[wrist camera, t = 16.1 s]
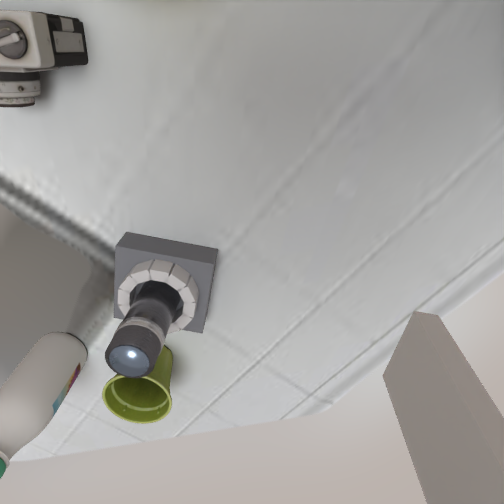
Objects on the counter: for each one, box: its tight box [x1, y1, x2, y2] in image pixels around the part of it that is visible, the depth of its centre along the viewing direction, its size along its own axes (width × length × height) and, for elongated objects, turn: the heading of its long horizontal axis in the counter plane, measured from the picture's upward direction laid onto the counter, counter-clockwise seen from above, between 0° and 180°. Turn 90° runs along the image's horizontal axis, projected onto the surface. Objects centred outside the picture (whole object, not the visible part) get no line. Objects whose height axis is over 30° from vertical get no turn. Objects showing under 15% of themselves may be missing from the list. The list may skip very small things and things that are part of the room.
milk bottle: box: [0, 332, 87, 478], centre depth 50 cm, size 8×8×20 cm
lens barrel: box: [105, 280, 181, 378], centre depth 43 cm, size 5×5×12 cm
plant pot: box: [102, 345, 173, 424], centre depth 55 cm, size 9×9×9 cm
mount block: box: [114, 232, 218, 334], centre depth 49 cm, size 12×11×6 cm
